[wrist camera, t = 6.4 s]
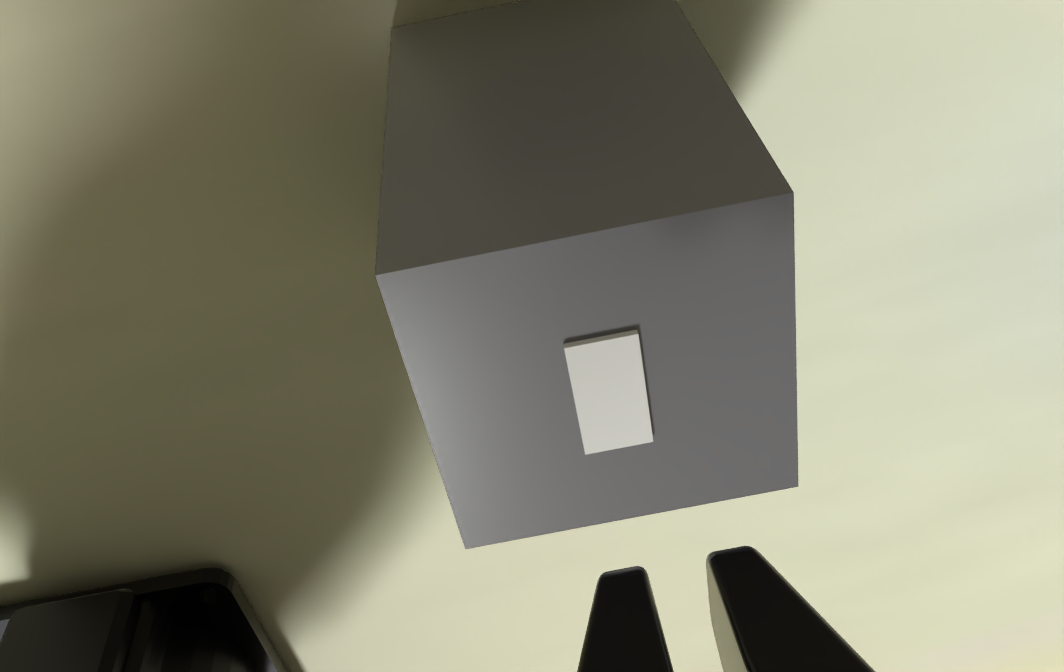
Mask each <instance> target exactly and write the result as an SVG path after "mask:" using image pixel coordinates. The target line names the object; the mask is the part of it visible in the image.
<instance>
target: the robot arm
mask: <svg viewBox="0 0 1064 672" xmlns="http://www.w3.org/2000/svg"><path fill="white" fill-rule="evenodd" d="M706 569H707V581H708V592H709V604H710V614H711V621H712V626H713V631H714V635H715V639H716V643H717V647H718V651H719V655H720V659H721V663H722V667H723V671H724V672H875V671H874V670H873V669H872V668H871V667H870V666H869V665H868V664H867V663H866V662H865V661H864V659H863V658H862V657H861V656H860V655H859V654H858V653H857V652H856V651H855V650H854V649H853V648H852V647H851V646H850V645H849V644H848V643H847V642H846V641H845V640H844V639H843V638H842V637H841V636H840V635H839V634H838V633H837V632H836V631H835V630H834V629H833V628H832V627H831V626H830V625H829V623H828V622H827V621H826V620H825V619H824V618H823V617H822V616H821V615H820V614H819V613H818V612H817V611H816V610H815V609H814V608H813V607H812V606H811V605H810V604H809V603H808V602H807V601H806V600H805V599H804V598H803V597H802V596H801V595H800V594H799V593H798V592H797V591H796V590H795V589H794V588H793V586H792V585H791V584H790V583H789V582H788V581H787V580H786V579H785V578H784V577H783V576H782V575H781V574H780V573H779V572H778V571H777V570H776V569H775V568H774V567H773V566H772V565H771V564H770V563H769V562H768V561H767V560H766V559H765V558H764V557H763V556H762V555H761V554H760V553H759V552H758V551H757V550H756V549H754V548H752V547H749V546H742V547H736V548H731V549H726V550H720V551H715V552H712V553H710V554H709V555H708V556H707V559H706ZM211 589H213V590H211ZM0 672H287V670H286V668H285V666H284V665H283V663H282V661H281V659H280V658H279V656H278V654H277V652H276V651H275V649H274V647H273V645H272V644H271V642H270V640H269V638H268V636H267V635H266V633H265V631H264V629H263V628H262V626H261V624H260V622H259V621H258V619H257V617H256V615H255V614H254V612H253V610H252V608H251V606H250V605H249V603H248V601H247V599H246V598H245V596H244V594H243V592H242V591H241V589H240V587H239V585H238V584H237V582H236V580H235V578H234V577H233V576H232V575H231V574H230V573H229V572H227V571H225V570H223V569H218V568H203V569H198V570H193V571H187V572H182V573H177V574H171V575H166V576H161V577H156V578H150V579H145V580H140V581H135V582H129V583H124V584H119V585H114V586H108V587H103V588H98V589H93V590H87V591H82V592H77V593H72V594H66V595H61V596H56V597H50V598H45V599H40V600H35V601H29V602H24V603H19V604H14V605H8V606H3V607H0ZM577 672H674V671H673V668H672V664H671V660H670V656H669V652H668V649H667V645H666V641H665V637H664V634H663V630H662V626H661V622H660V619H659V615H658V611H657V607H656V604H655V600H654V596H653V592H652V588H651V585H650V581H649V577H648V574H647V572H646V570H645V569H644V568H642V567H639V566H635V567H629V568H624V569H619V570H613V571H608V572H605V573H603V574H602V575H601V576H600V578H599V579H598V582H597V586H596V590H595V595H594V599H593V603H592V608H591V612H590V617H589V621H588V626H587V630H586V635H585V639H584V644H583V648H582V653H581V657H580V662H579V666H578V671H577Z"/></svg>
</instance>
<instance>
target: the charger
mask: <svg viewBox="0 0 1064 672" xmlns="http://www.w3.org/2000/svg"><path fill="white" fill-rule="evenodd" d="M375 277H376V280H377V283H378V286H379V289H380V292H381V295H382V298H383V301H384V304H385V307H386V310H387V313H388V316H389V319H390V323H391V326H392V329H393V332H394V335H395V338H396V341H397V344H398V347H399V350H400V353H401V356H402V359H403V362H404V365H405V368H406V371H407V374H408V377H409V380H410V383H411V386H412V389H413V392H414V395H415V398H416V401H417V404H418V407H419V410H420V413H421V416H422V419H423V422H424V425H425V428H426V431H427V434H428V437H429V440H430V443H431V446H432V449H433V453H434V456H435V459H436V462H437V465H438V468H439V471H440V474H441V477H442V480H443V483H444V486H445V489H446V492H447V495H448V498H449V501H450V504H451V507H452V510H453V513H454V516H455V519H456V522H457V525H458V528H459V531H460V534H461V537H462V540H463V543H464V546H465V549H469V548H474V547H480V546H485V545H490V544H496V543H501V542H506V541H511V540H517V539H522V538H527V537H533V536H538V535H543V534H549V533H554V532H559V531H565V530H570V529H575V528H580V527H586V526H591V525H596V524H602V523H607V522H612V521H618V520H623V519H628V518H634V517H639V516H644V515H649V514H655V513H660V512H665V511H671V510H676V509H681V508H687V507H692V506H697V505H703V504H708V503H713V502H718V501H724V500H729V499H734V498H740V497H745V496H750V495H756V494H761V493H766V492H772V491H777V490H782V489H788V488H793V487H798V439H797V378H796V316H795V254H794V193H793V191H792V189H791V187H790V186H789V184H788V183H787V181H786V179H785V178H784V176H783V175H782V173H781V171H780V170H779V168H778V166H777V165H776V163H775V162H774V160H773V158H772V157H771V155H770V153H769V152H768V150H767V149H766V147H765V145H764V144H763V142H762V140H761V139H760V137H759V136H758V134H757V132H756V131H755V129H754V128H753V126H752V124H751V123H750V121H749V119H748V118H747V116H746V115H745V113H744V111H743V110H742V108H741V106H740V105H739V103H738V102H737V100H736V98H735V97H734V95H733V93H732V92H731V90H730V89H729V87H728V85H727V84H726V82H725V81H724V79H723V77H722V76H721V74H720V72H719V71H718V69H717V68H716V66H715V64H714V63H713V61H712V59H711V58H710V56H709V55H708V53H707V51H706V50H705V48H704V46H703V45H702V43H701V42H700V40H699V38H698V37H697V35H696V34H695V32H694V30H693V29H692V27H691V25H690V24H689V22H688V21H687V19H686V17H685V16H684V14H683V12H682V11H681V9H680V8H679V6H678V4H677V3H676V1H675V0H523V1H518V2H514V3H509V4H504V5H499V6H494V7H490V8H485V9H480V10H475V11H470V12H465V13H461V14H456V15H451V16H446V17H441V18H437V19H432V20H427V21H422V22H417V23H412V24H408V25H403V26H398V27H393V28H392V30H391V45H390V60H389V75H388V90H387V104H386V119H385V134H384V149H383V164H382V179H381V193H380V208H379V223H378V238H377V253H376V268H375Z"/></svg>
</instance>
